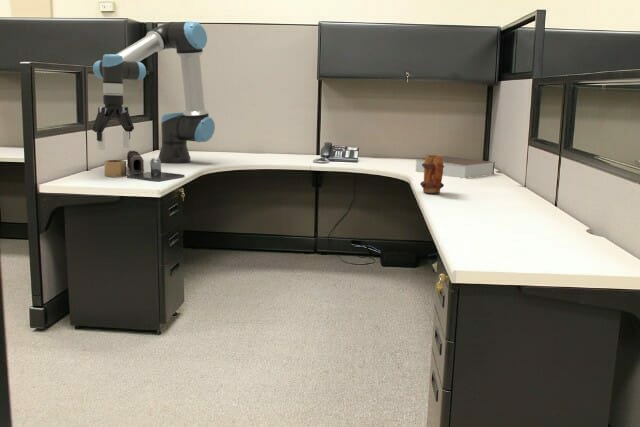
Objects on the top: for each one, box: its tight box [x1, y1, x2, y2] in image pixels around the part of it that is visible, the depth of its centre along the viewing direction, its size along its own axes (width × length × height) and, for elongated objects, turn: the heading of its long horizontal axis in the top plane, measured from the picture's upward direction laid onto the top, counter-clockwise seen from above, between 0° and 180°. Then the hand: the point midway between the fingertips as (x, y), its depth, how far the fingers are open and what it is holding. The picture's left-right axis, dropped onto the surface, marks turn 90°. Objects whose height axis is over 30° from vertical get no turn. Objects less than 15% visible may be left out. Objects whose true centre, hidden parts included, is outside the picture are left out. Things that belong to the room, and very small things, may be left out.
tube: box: [126, 150, 145, 175], centre depth 279 cm, size 11×7×30 cm
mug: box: [420, 154, 445, 194], centre depth 244 cm, size 15×8×15 cm, turn 5°
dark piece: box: [126, 157, 186, 183], centre depth 262 cm, size 16×16×8 cm
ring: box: [103, 159, 127, 178], centre depth 263 cm, size 8×8×6 cm
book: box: [415, 155, 496, 179], centre depth 308 cm, size 24×28×7 cm
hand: (114, 148), depth 261 cm, fingers open, 13 cm apart
